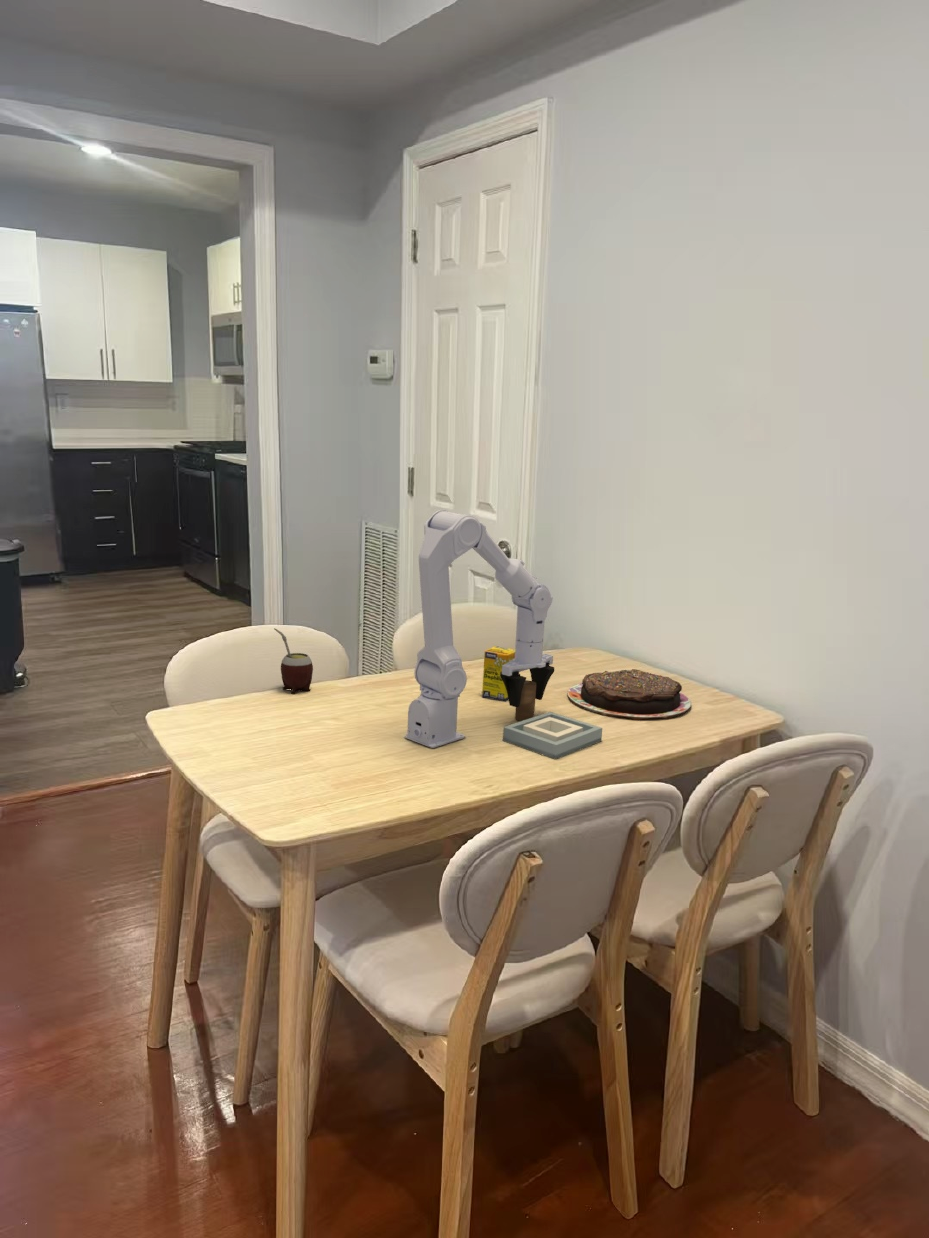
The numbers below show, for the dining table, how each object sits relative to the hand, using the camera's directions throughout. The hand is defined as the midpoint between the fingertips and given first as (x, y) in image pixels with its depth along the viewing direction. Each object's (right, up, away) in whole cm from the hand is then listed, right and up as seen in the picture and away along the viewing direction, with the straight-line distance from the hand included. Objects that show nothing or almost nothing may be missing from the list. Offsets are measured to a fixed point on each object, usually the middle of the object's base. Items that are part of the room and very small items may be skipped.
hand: (525, 702), depth 191 cm
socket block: (+4, -7, -11) cm, 14 cm away
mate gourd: (-51, +1, +13) cm, 53 cm away
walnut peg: (0, -4, +1) cm, 4 cm away
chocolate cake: (+25, -2, +17) cm, 30 cm away
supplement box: (-5, 0, +16) cm, 17 cm away
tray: (+4, -7, -11) cm, 14 cm away
